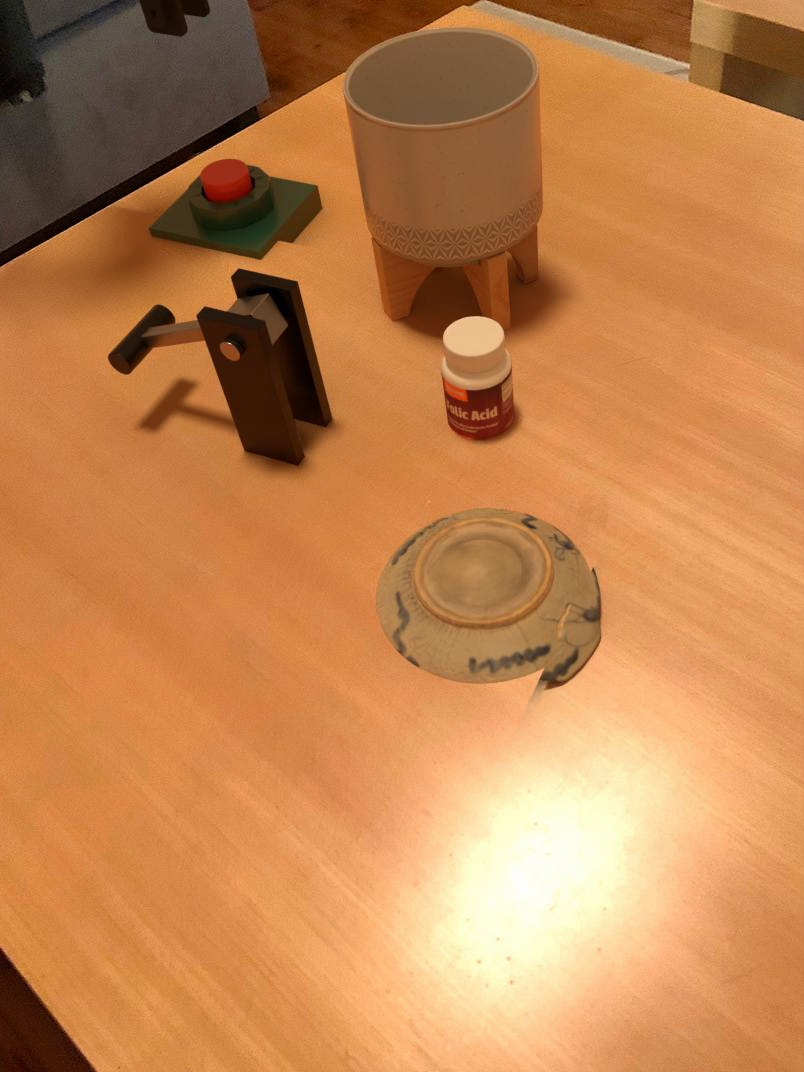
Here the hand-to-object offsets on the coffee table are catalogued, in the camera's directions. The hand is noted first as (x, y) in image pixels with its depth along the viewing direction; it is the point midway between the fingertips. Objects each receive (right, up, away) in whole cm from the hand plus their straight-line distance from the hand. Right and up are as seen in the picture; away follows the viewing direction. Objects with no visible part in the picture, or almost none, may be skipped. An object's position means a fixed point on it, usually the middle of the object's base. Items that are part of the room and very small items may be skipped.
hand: (179, 21), depth 77 cm
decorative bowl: (+23, -44, -12) cm, 51 cm away
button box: (+1, -10, +14) cm, 17 cm away
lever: (+4, -26, -8) cm, 28 cm away
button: (+1, -8, +11) cm, 14 cm away
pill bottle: (+22, -31, -3) cm, 38 cm away
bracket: (+9, -32, -3) cm, 33 cm away
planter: (+21, -19, +6) cm, 29 cm away
